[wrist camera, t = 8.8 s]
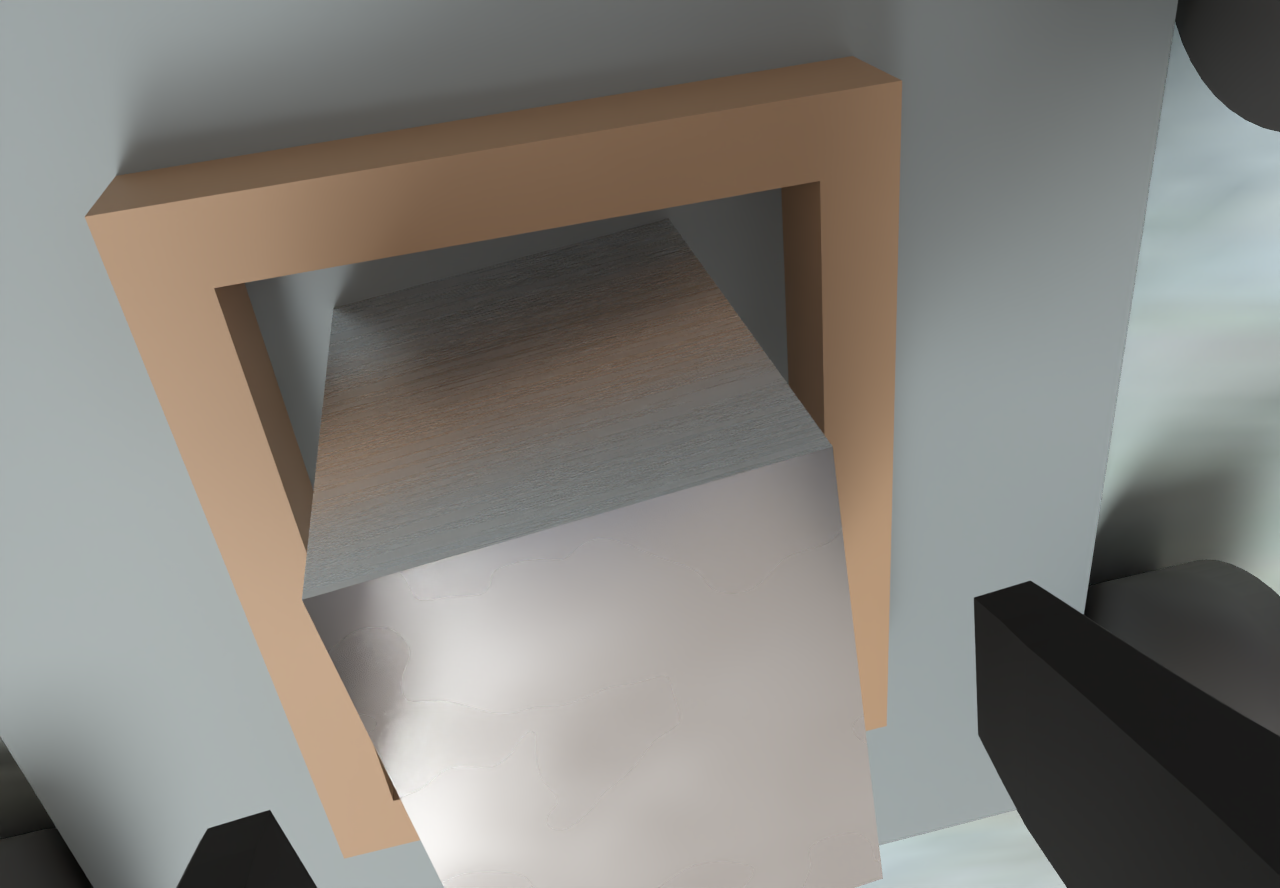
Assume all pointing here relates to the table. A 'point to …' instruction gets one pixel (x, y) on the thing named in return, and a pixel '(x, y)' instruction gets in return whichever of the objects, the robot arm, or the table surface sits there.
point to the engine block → (591, 579)
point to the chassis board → (525, 225)
